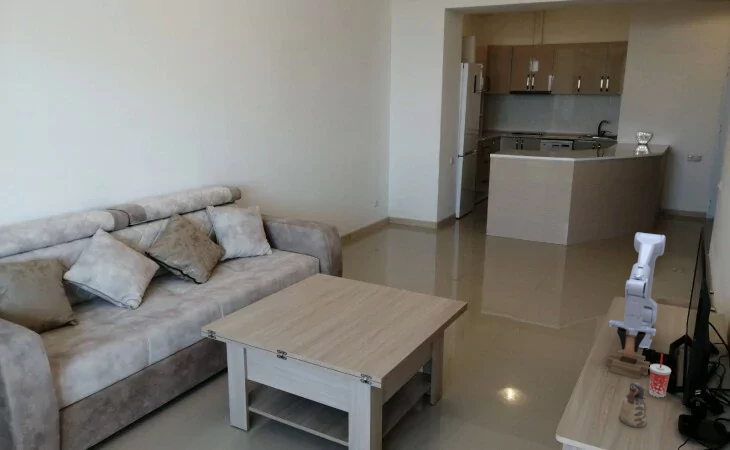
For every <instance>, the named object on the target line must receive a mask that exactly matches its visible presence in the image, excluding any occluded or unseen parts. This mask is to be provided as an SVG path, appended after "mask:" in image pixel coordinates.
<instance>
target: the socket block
mask: <svg viewBox="0 0 730 450" xmlns="http://www.w3.org/2000/svg"><path fill="white" fill-rule="evenodd" d="M644 360H645V361H644ZM649 365H651V362H650V361H647V360H646V356H645V355H641V354H636V353H635V356H634V357H627V356H625V355H624V350H623V351H622V350H619V349H618V350H617V352H616V353H611V352H610V353H609V354H608V355H607V359H606V367H609V368H610V371H609V372H610V373H613V374H616V375H617V374H618V375H621V376H625V377H629V378H634V379H636V380H637V379H638V380H639V379H640V377H641V375H642V374H643V375H642V376H646V375H647V376H648V374H649V372H648V369H649V370H650V367H649Z"/></svg>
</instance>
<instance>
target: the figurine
mask: <svg viewBox="0 0 730 450" xmlns="http://www.w3.org/2000/svg"><path fill="white" fill-rule="evenodd" d="M629 385H630V386H629V393H628V394H626V395H625V396H624V397H623V399H622V402H621V407H620V410H619V419H620V421H621V422H622V423H624V424H625V425H627V426H630V427H633V428H642V427H645V426H647V425H646V424H647V405H646V402H645V401H644V400H646V398H647V397H645V391H646V389H645V388H644V387H643V386H642V385H641V384H640V383H639V382H633V383H630V384H629Z"/></svg>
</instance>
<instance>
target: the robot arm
mask: <svg viewBox="0 0 730 450" xmlns="http://www.w3.org/2000/svg"><path fill="white" fill-rule="evenodd" d="M666 238H667V237H666V236H665V235H664V234H655V233H654V234H653V233H645V232H640V231H639V232H636V233H635V234H634V240H633V242H634V243H633V247H634V249H635V250H634V251H636V253H638V258H637V262H636V263H635V264H633V265H632V268H631V273H630V277H629V279H627V280H626V281H625V287H624V292H625V297H624V300H625V305H624V314H623V315H624V316H623V320H614V319H610V321H608V322H609V323H608V327H609V328H616V329H617V330H616V332H617V335H618V337H619V340H620V344H621V350H623V351H624V347H625V337H626V335H627V331H628V332H629V334H631V335H635V336H636V346H635V354H636V353H638V350H639V348H640V349H644V348H648V349H647V350H649V349H650V347H651V345H652V342H653V339H652V338H651V336H653V337H655V336H656V332H657V329H656V328H653V327H651V324H655V323H657V317H658V303H657V302H656V301H655V300H654V299H652V297H651V295H652V289H653V281H654V272H655V265H656V260H657V259H658V257H659V256H660V257H661V256H663V255H664V254H665V247H666ZM648 306H649V307H648ZM650 338H651V339H650Z"/></svg>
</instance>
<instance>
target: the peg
mask: <svg viewBox="0 0 730 450" xmlns="http://www.w3.org/2000/svg"><path fill="white" fill-rule="evenodd" d="M635 346H636V336H635V335H631V334H627V333H626V337H625V347H624V350H623V351H624V355H625V356H627V357H634V356H635V354H636V352H635Z"/></svg>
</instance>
